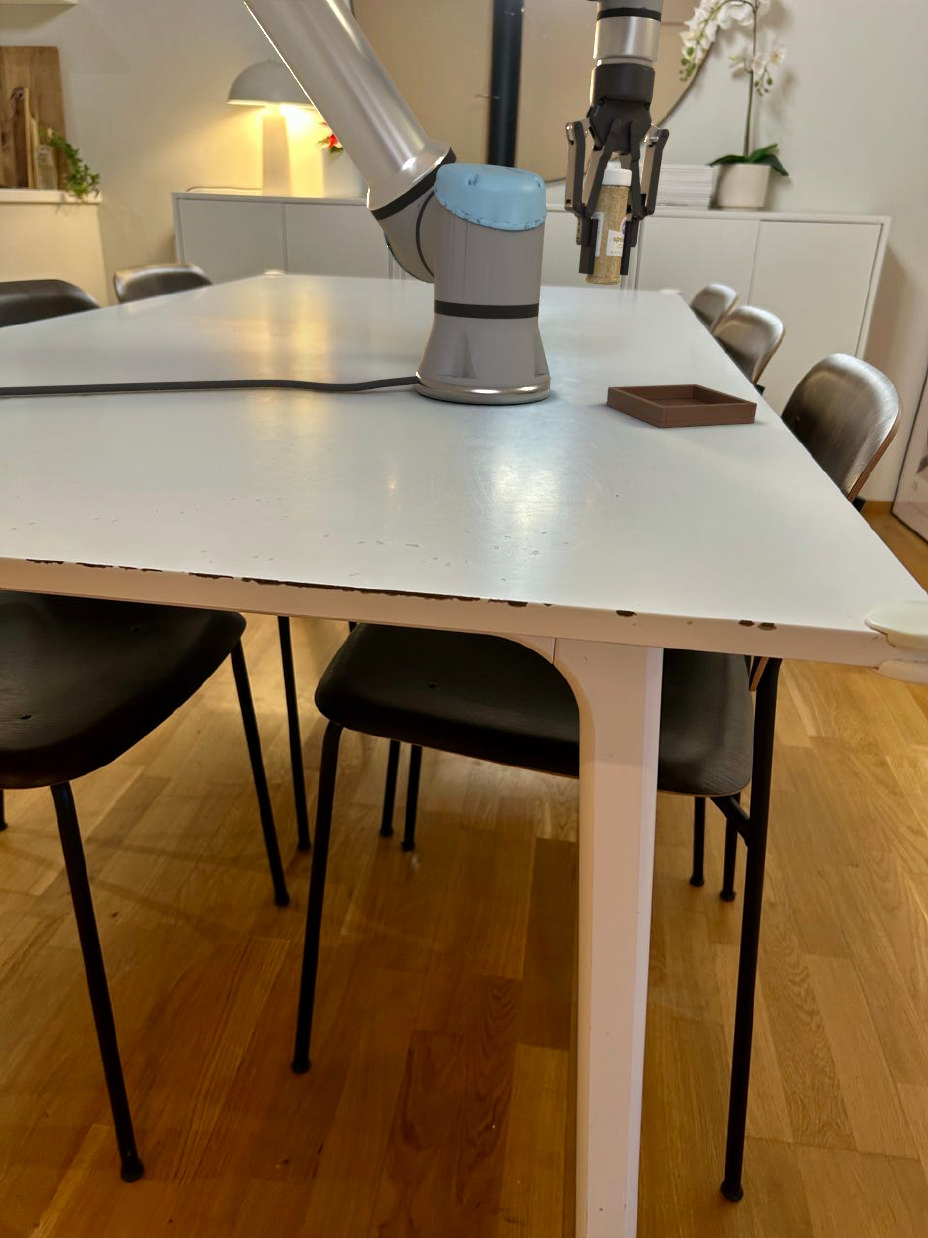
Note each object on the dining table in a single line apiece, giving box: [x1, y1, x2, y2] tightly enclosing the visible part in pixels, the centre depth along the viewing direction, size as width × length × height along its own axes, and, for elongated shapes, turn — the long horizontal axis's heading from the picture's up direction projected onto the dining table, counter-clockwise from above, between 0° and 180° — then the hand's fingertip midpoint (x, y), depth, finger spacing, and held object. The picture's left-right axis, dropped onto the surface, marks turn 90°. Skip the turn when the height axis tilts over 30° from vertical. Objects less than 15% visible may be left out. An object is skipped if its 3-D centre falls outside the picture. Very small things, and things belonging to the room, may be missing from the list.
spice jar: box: [585, 167, 632, 286], centre depth 115 cm, size 5×5×14 cm
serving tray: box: [606, 383, 758, 429], centre depth 96 cm, size 11×11×2 cm
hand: (603, 273), depth 117 cm, fingers closed on spice jar, 4 cm apart
